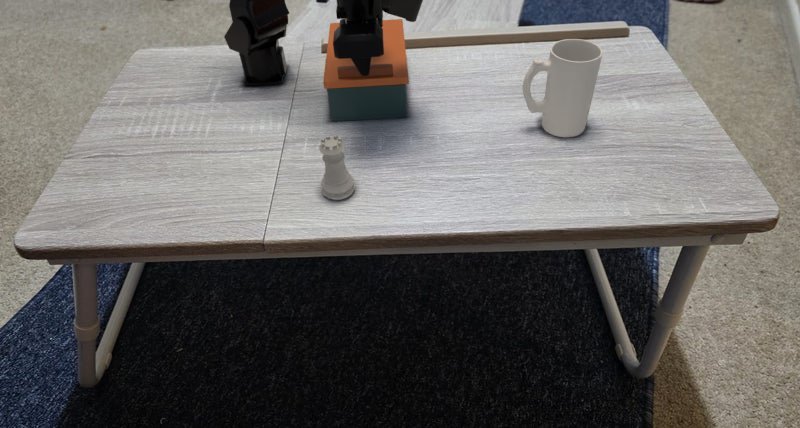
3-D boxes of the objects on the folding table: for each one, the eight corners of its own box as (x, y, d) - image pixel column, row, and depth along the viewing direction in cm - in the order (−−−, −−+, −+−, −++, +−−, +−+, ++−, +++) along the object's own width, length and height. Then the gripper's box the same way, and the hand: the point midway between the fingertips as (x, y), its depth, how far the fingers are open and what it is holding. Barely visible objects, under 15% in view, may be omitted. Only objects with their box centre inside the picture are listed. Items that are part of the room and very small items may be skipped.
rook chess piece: (352, 177, 78) (346, 127, 73) (358, 198, 75) (352, 147, 69) (319, 183, 77) (310, 133, 72) (324, 204, 74) (315, 154, 69)
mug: (579, 111, 87) (594, 37, 79) (592, 137, 82) (609, 60, 74) (513, 116, 87) (521, 41, 79) (522, 141, 82) (531, 65, 74)
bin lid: (408, 84, 85) (407, 67, 83) (324, 89, 85) (321, 72, 83) (402, 25, 100) (402, 10, 98) (330, 29, 100) (329, 14, 98)
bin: (406, 117, 88) (405, 84, 85) (331, 121, 88) (326, 89, 85) (402, 59, 102) (400, 29, 98) (336, 63, 102) (332, 33, 98)
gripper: (423, -13, 66) (425, 105, 76) (414, -64, 80) (417, 42, 90) (325, -8, 66) (341, 110, 76) (334, -59, 80) (346, 46, 90)
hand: (365, 74), depth 83 cm, fingers closed
